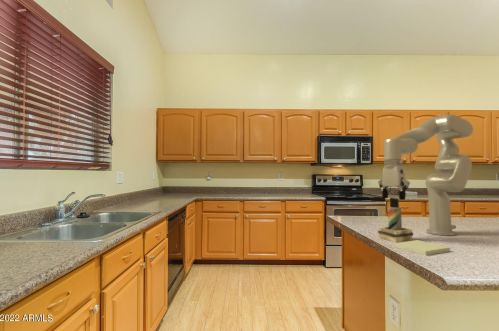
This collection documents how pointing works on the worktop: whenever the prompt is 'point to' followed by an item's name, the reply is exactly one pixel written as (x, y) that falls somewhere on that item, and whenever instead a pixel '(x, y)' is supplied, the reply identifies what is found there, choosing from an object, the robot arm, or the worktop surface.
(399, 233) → the holder
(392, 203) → the lotion bottle
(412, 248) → the board
